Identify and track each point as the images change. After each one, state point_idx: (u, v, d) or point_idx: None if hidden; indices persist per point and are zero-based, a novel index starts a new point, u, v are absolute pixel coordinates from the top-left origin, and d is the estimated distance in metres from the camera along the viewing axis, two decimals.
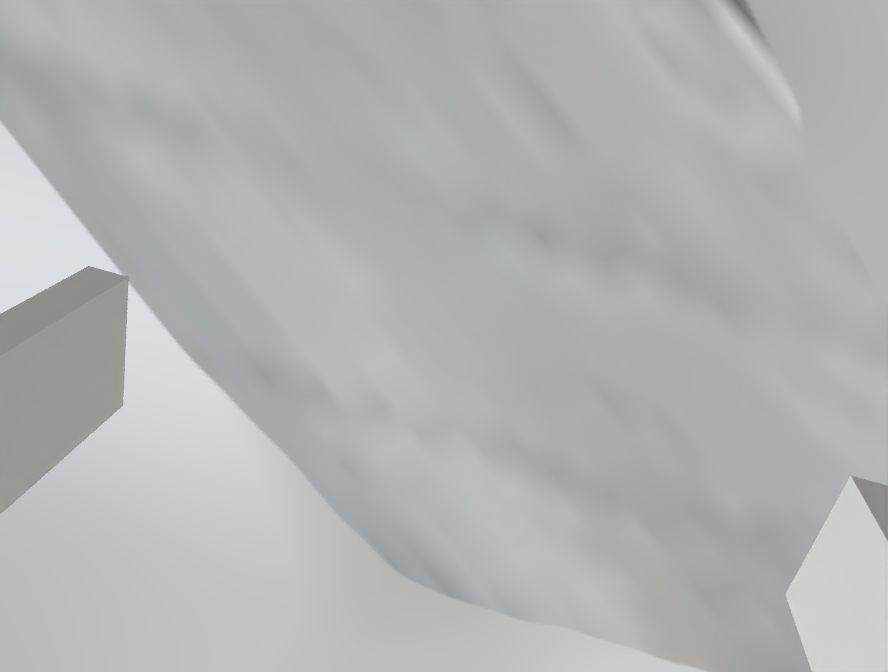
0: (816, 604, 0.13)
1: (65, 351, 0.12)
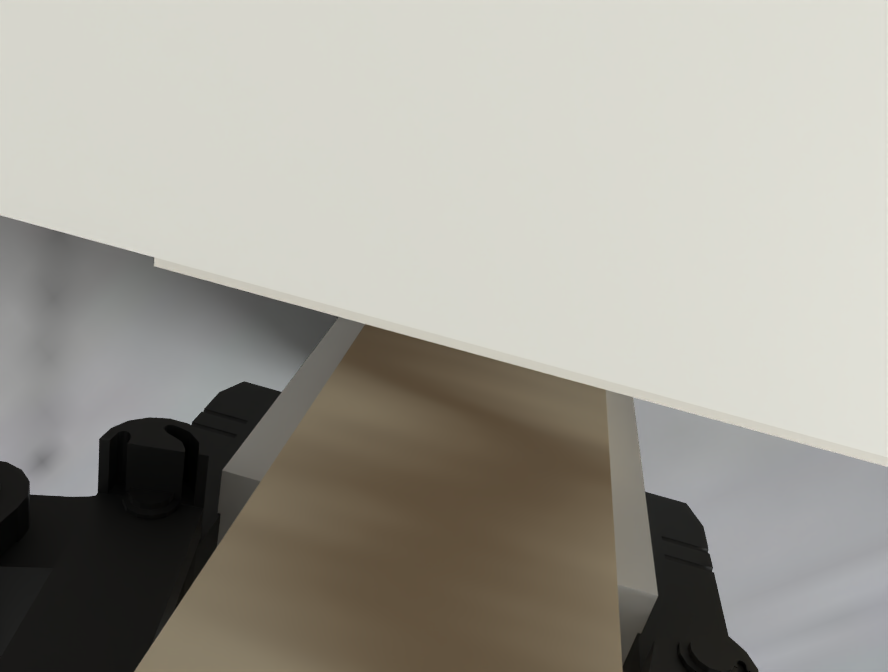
0: None
1: None
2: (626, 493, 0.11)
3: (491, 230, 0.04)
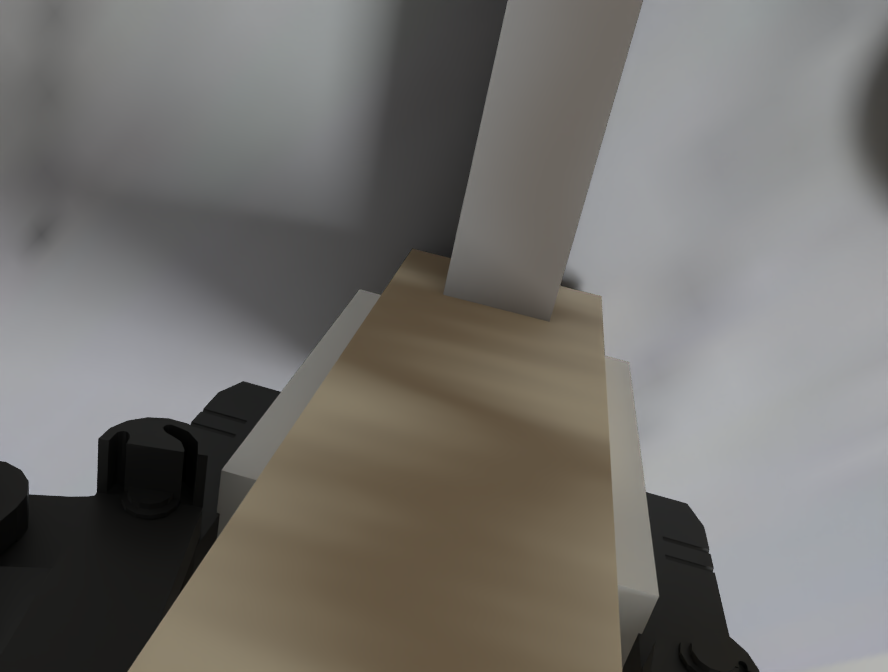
0: None
1: None
2: (627, 493, 0.11)
3: None
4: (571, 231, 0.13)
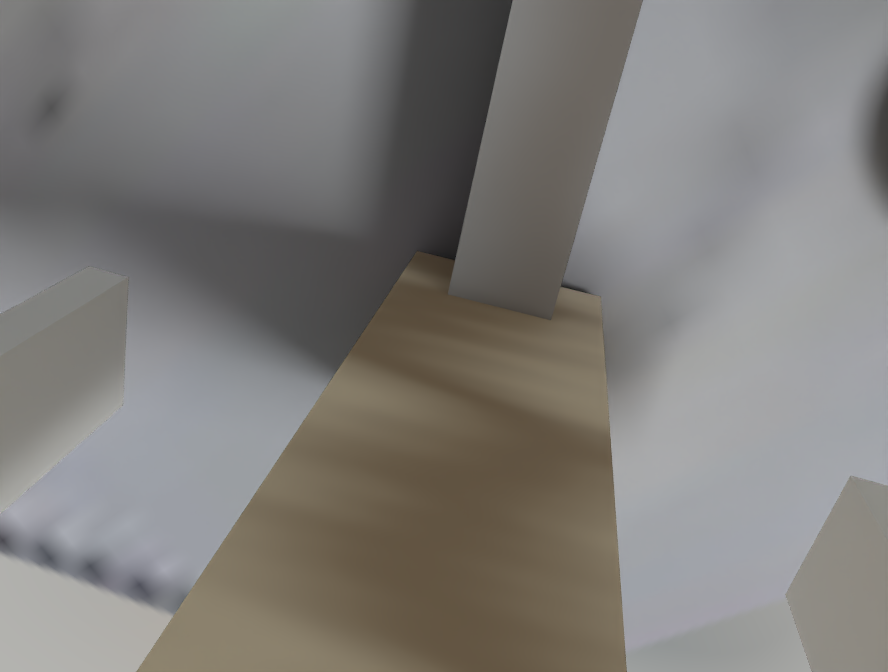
0: (816, 604, 0.13)
1: (65, 351, 0.12)
2: None
3: None
4: (571, 232, 0.14)
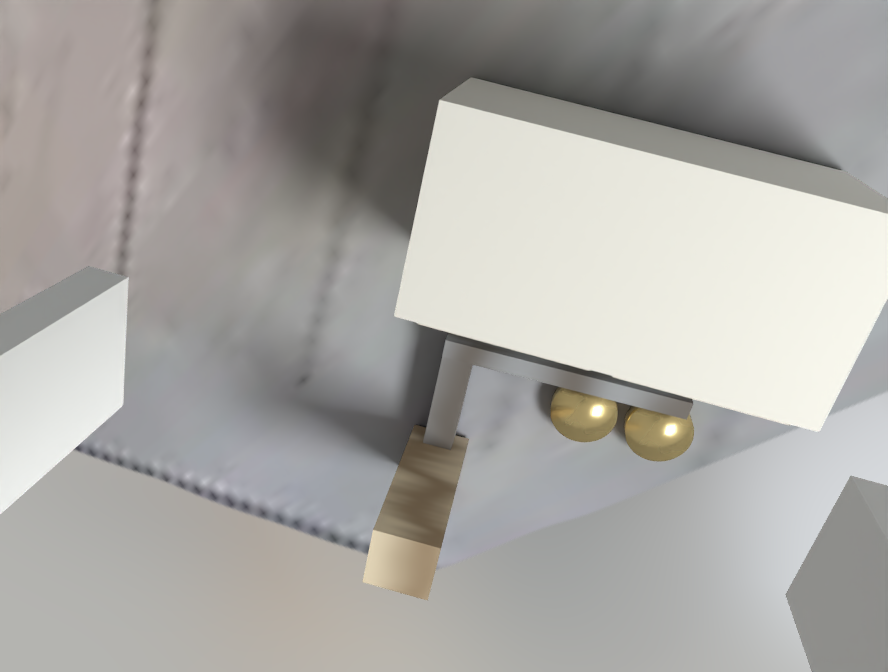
0: (816, 604, 0.13)
1: (65, 351, 0.12)
2: None
3: (460, 321, 0.39)
4: (455, 428, 0.52)
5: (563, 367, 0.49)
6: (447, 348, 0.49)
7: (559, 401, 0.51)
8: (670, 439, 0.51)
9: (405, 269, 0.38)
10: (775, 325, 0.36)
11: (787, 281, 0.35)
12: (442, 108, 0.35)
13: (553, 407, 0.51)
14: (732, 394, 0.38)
